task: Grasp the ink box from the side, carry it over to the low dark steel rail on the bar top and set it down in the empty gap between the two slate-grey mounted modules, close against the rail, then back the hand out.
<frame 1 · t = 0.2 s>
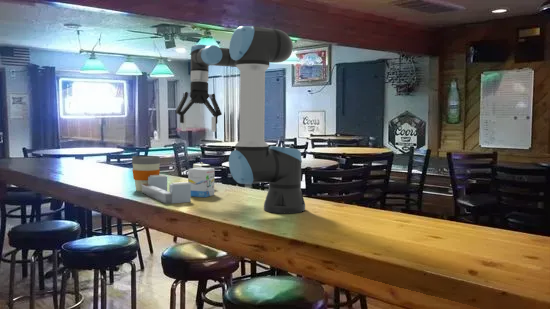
hand: (198, 131, 218), 27 cm above the bar counter, tool pointing down, fingers open, 13 cm apart
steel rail: (155, 193, 207), on the bar counter
ink box: (201, 196, 216), on the bar counter
reusable coffee cup: (146, 190, 229), on the bar counter
pneumatic valve: (202, 187, 240), on the bar counter
mounted modules: (165, 197, 210), on the bar counter
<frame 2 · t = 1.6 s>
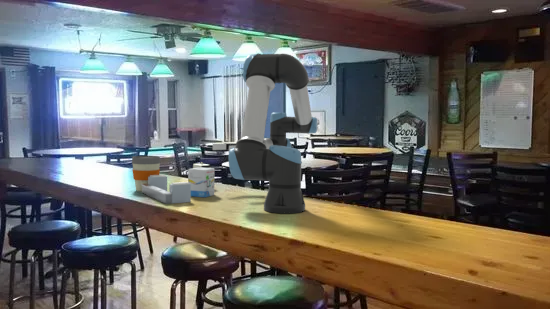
hand: (220, 147, 220), 20 cm above the bar counter, tool horizontal, fingers open, 13 cm apart
nothing on the bar counter moved.
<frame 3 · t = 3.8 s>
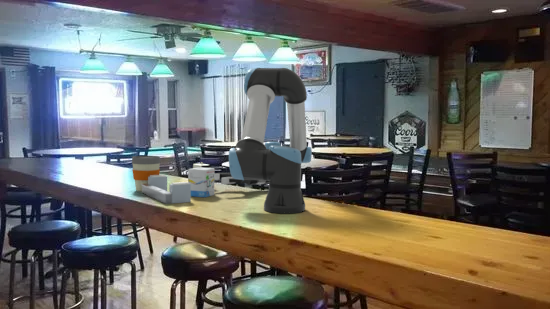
hand: (213, 179, 220), 7 cm above the bar counter, tool horizontal, fingers open, 13 cm apart
nothing on the bar counter moved.
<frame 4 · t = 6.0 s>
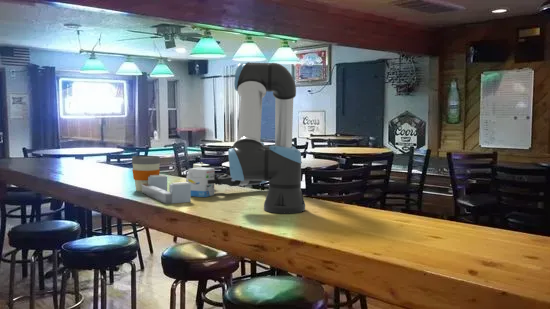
hand: (193, 180, 213), 7 cm above the bar counter, tool horizontal, fingers closed on ink box, 11 cm apart
ink box: (201, 195, 216), on the bar counter, touching gripper
everything else where it was.
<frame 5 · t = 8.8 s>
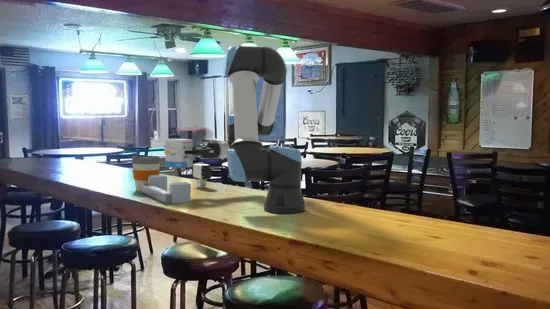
hand: (170, 151, 210), 19 cm above the bar counter, tool horizontal, fingers closed on ink box, 11 cm apart
ink box: (179, 167, 212), point 12 cm above the bar counter, touching gripper
everything else where it was.
when the fingers open (8 cm above the bar counter, at t = 11.7 s): ink box drops 1 cm, on the bar counter.
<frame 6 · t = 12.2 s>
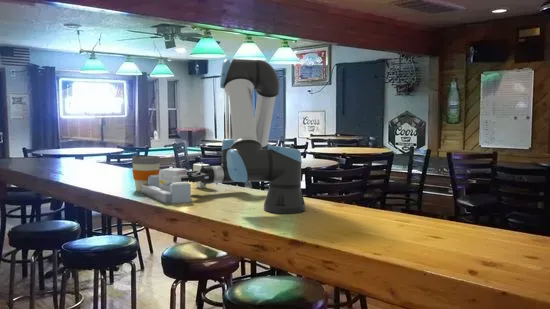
hand: (165, 177, 209), 8 cm above the bar counter, tool horizontal, fingers open, 13 cm apart
ink box: (173, 197, 212), on the bar counter
everything else where it was.
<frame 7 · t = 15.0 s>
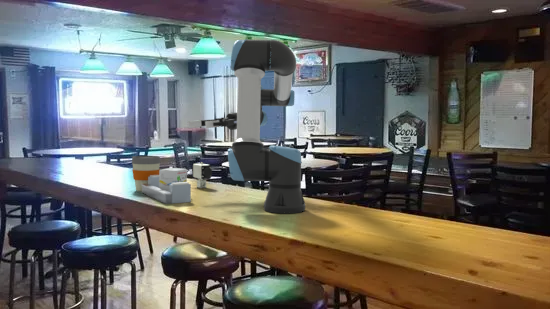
hand: (196, 124, 212), 30 cm above the bar counter, tool horizontal, fingers open, 13 cm apart
nothing on the bar counter moved.
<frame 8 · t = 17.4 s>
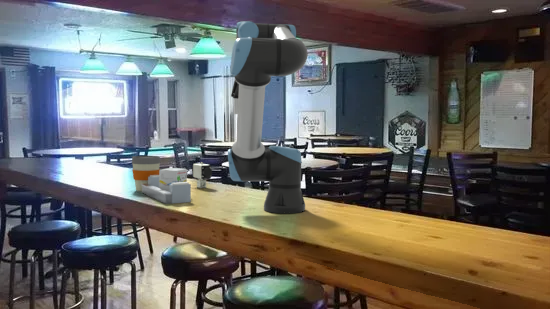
hand: (244, 114, 206), 35 cm above the bar counter, tool pointing down, fingers open, 13 cm apart
nothing on the bar counter moved.
at the end: ink box inside the target area (0.4 cm from its centre), on the bar counter; ink box tilted 0°; the gripper is holding nothing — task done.
